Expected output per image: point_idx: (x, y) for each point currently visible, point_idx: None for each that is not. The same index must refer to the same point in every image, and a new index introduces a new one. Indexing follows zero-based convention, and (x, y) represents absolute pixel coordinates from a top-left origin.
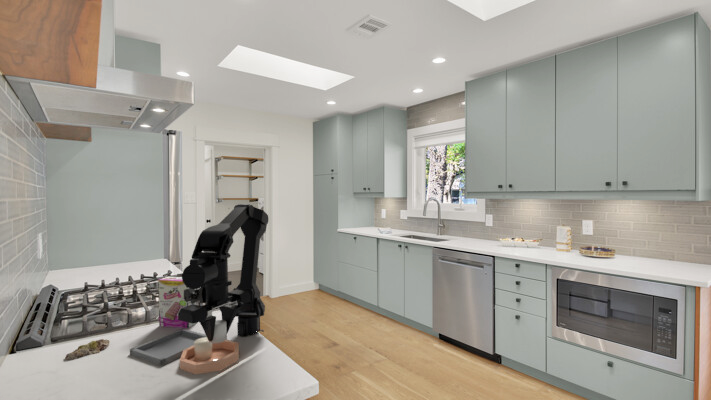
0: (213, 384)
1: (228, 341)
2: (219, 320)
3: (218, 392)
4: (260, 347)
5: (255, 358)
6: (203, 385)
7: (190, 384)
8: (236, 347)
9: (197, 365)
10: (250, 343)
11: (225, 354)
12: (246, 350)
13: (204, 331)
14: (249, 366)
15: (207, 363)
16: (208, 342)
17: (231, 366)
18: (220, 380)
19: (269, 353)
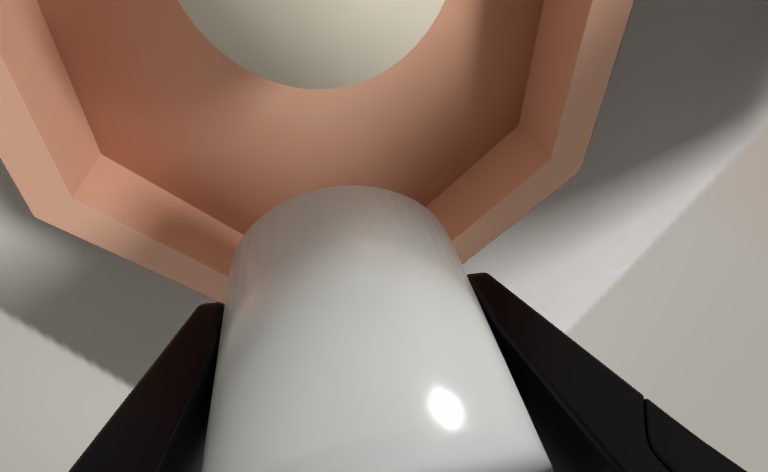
0: (142, 311)
1: (590, 52)
2: (511, 467)
3: (125, 376)
4: (653, 182)
5: (498, 265)
6: (85, 281)
7: (6, 211)
8: (486, 228)
9: (60, 222)
10: (726, 60)
11: (446, 94)
12: (593, 134)
13: (94, 442)
14: None
15: (148, 266)
16: (318, 88)
17: None
18: (197, 306)
19: (577, 279)
